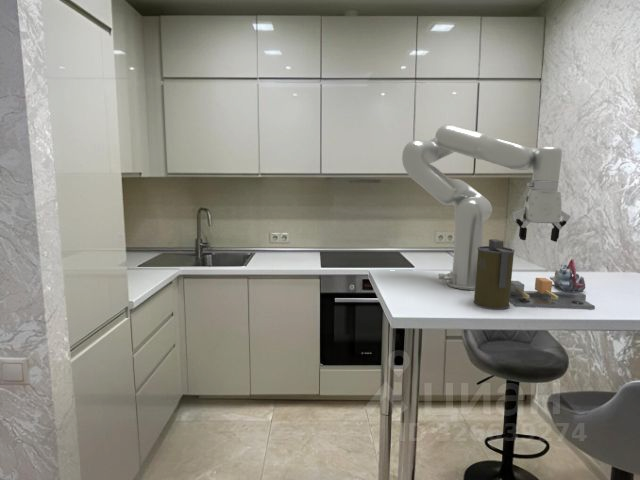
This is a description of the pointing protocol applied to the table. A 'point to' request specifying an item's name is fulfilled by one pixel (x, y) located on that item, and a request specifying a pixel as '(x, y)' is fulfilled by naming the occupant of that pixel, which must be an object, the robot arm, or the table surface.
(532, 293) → the rail
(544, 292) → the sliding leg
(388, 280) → the table surface
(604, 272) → the table surface
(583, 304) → the strip
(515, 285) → the fixed leg
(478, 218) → the robot arm
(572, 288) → the brake caliper
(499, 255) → the canister
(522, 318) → the table surface
